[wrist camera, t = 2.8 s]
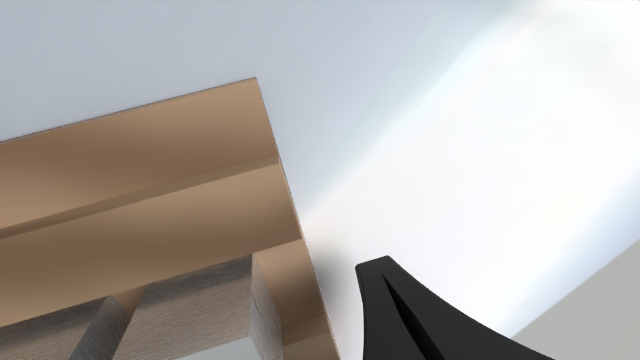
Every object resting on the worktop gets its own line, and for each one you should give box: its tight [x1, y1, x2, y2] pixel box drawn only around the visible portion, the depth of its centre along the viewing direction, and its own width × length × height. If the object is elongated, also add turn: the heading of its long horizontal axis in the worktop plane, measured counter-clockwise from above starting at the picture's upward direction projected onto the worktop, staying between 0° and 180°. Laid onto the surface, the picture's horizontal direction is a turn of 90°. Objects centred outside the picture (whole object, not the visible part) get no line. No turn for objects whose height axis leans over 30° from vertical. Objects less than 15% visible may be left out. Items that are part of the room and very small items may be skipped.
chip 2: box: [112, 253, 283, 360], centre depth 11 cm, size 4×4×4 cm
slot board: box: [0, 77, 341, 360], centre depth 12 cm, size 16×16×2 cm
